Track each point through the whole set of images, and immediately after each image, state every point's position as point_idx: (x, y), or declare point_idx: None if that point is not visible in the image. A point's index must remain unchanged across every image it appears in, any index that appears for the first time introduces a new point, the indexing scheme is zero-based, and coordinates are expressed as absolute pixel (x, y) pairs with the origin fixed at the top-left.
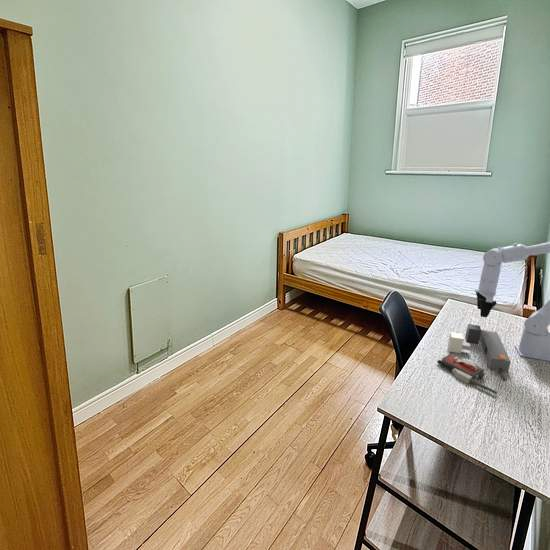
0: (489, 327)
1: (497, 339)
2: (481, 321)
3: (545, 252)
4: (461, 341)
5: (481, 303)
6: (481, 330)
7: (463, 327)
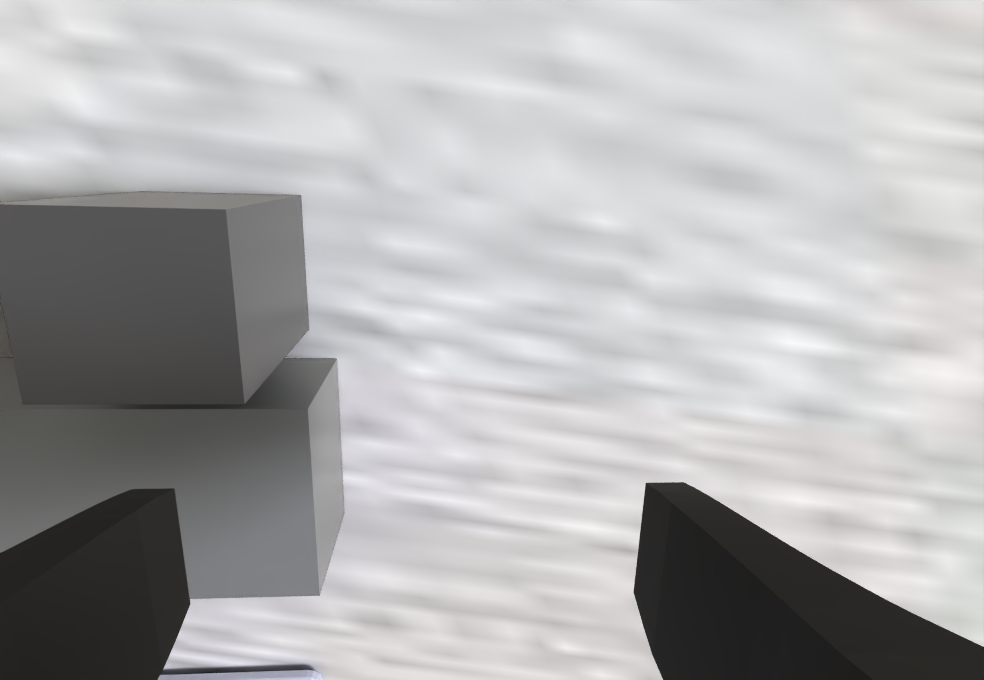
0: None
1: None
2: (870, 454)
3: None
4: None
5: None
6: (286, 411)
7: (629, 217)
